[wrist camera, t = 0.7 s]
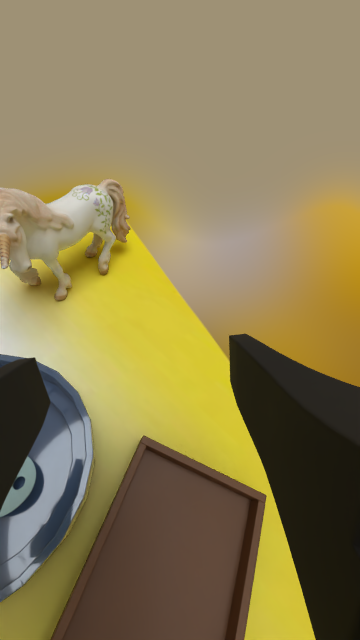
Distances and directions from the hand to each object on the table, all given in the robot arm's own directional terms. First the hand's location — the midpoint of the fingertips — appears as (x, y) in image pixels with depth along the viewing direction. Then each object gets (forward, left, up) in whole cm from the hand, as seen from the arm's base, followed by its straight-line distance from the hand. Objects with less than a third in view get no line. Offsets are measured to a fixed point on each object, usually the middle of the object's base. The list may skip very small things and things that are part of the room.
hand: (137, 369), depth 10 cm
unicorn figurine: (+13, +11, -17) cm, 24 cm away
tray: (-5, -7, -16) cm, 19 cm away
